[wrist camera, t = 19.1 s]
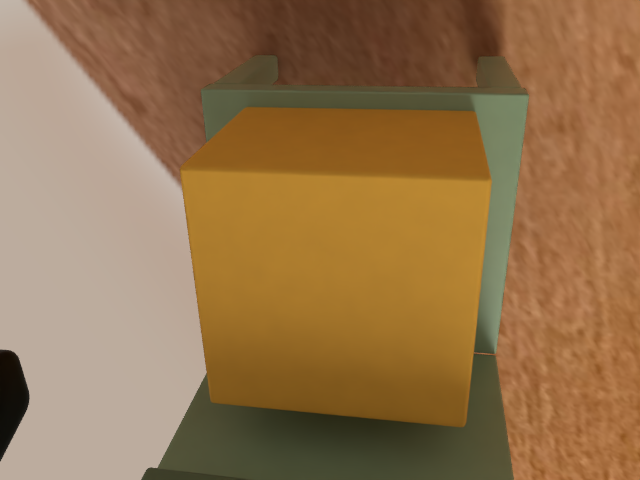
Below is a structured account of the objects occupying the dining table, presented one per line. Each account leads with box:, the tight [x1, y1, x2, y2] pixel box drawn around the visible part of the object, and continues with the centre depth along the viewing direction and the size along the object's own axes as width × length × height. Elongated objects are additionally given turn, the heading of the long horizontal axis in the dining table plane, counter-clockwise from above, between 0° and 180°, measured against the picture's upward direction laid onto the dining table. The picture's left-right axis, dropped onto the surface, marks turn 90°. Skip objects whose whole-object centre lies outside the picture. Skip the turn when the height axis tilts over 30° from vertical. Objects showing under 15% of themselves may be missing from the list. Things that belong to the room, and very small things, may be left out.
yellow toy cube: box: [180, 107, 492, 427], centre depth 12 cm, size 5×5×4 cm
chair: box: [141, 55, 529, 480], centre depth 14 cm, size 7×7×11 cm
